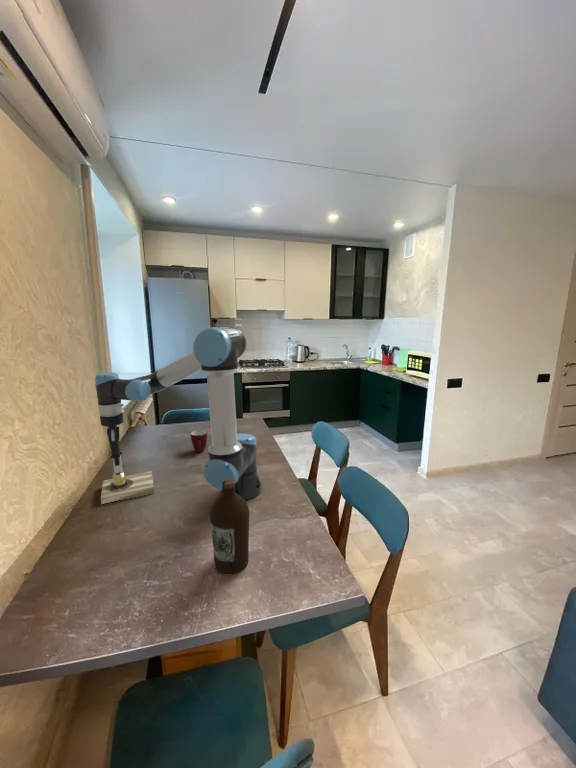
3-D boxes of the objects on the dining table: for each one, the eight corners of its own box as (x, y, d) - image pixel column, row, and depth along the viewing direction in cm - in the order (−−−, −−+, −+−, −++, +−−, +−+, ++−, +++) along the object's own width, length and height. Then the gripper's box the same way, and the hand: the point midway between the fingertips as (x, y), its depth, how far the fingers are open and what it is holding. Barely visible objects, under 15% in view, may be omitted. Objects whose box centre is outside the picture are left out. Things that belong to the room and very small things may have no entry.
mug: (209, 454, 158) (208, 436, 156) (193, 457, 155) (191, 438, 153) (206, 446, 168) (205, 429, 166) (191, 449, 165) (190, 431, 163)
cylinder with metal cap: (126, 492, 123) (124, 474, 121) (115, 495, 121) (112, 476, 120) (126, 488, 126) (124, 469, 125) (114, 490, 125) (112, 472, 123)
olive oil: (225, 544, 95) (222, 469, 90) (257, 554, 91) (255, 475, 86) (204, 570, 85) (199, 487, 80) (238, 582, 81) (235, 495, 76)
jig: (154, 493, 123) (153, 486, 122) (101, 505, 115) (100, 497, 114) (152, 477, 135) (151, 471, 134) (104, 487, 127) (103, 480, 127)
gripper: (122, 417, 113) (129, 477, 118) (122, 408, 124) (129, 463, 129) (98, 420, 110) (106, 481, 115) (101, 410, 121) (108, 466, 126)
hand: (118, 471), depth 122 cm, fingers closed
